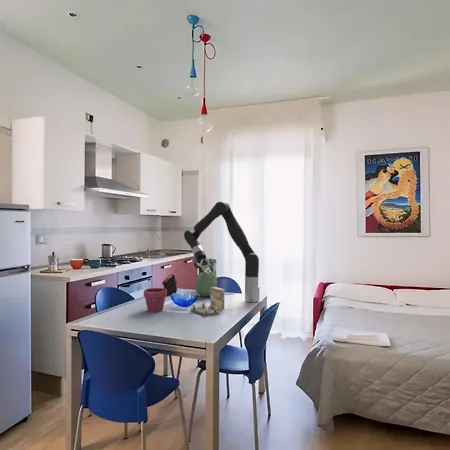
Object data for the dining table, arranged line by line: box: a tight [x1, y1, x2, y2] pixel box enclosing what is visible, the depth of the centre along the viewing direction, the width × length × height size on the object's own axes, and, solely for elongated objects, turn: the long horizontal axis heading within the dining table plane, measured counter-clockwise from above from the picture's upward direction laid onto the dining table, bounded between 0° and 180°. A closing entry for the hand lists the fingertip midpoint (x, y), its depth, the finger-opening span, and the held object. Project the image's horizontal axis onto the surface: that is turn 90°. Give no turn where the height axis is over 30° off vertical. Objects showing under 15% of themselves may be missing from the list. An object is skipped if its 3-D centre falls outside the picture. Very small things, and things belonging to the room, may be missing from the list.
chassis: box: [190, 301, 220, 317], centre depth 220 cm, size 10×16×4 cm, turn 36°
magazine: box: [161, 274, 178, 297], centre depth 270 cm, size 4×13×15 cm, turn 149°
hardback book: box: [198, 258, 217, 275], centre depth 292 cm, size 18×7×24 cm, turn 158°
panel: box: [209, 286, 226, 310], centre depth 234 cm, size 4×10×12 cm, turn 36°
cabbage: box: [194, 269, 218, 298], centre depth 266 cm, size 16×19×20 cm
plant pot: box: [143, 287, 168, 313], centre depth 223 cm, size 14×14×13 cm
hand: (207, 271), depth 243 cm, fingers open, 8 cm apart
